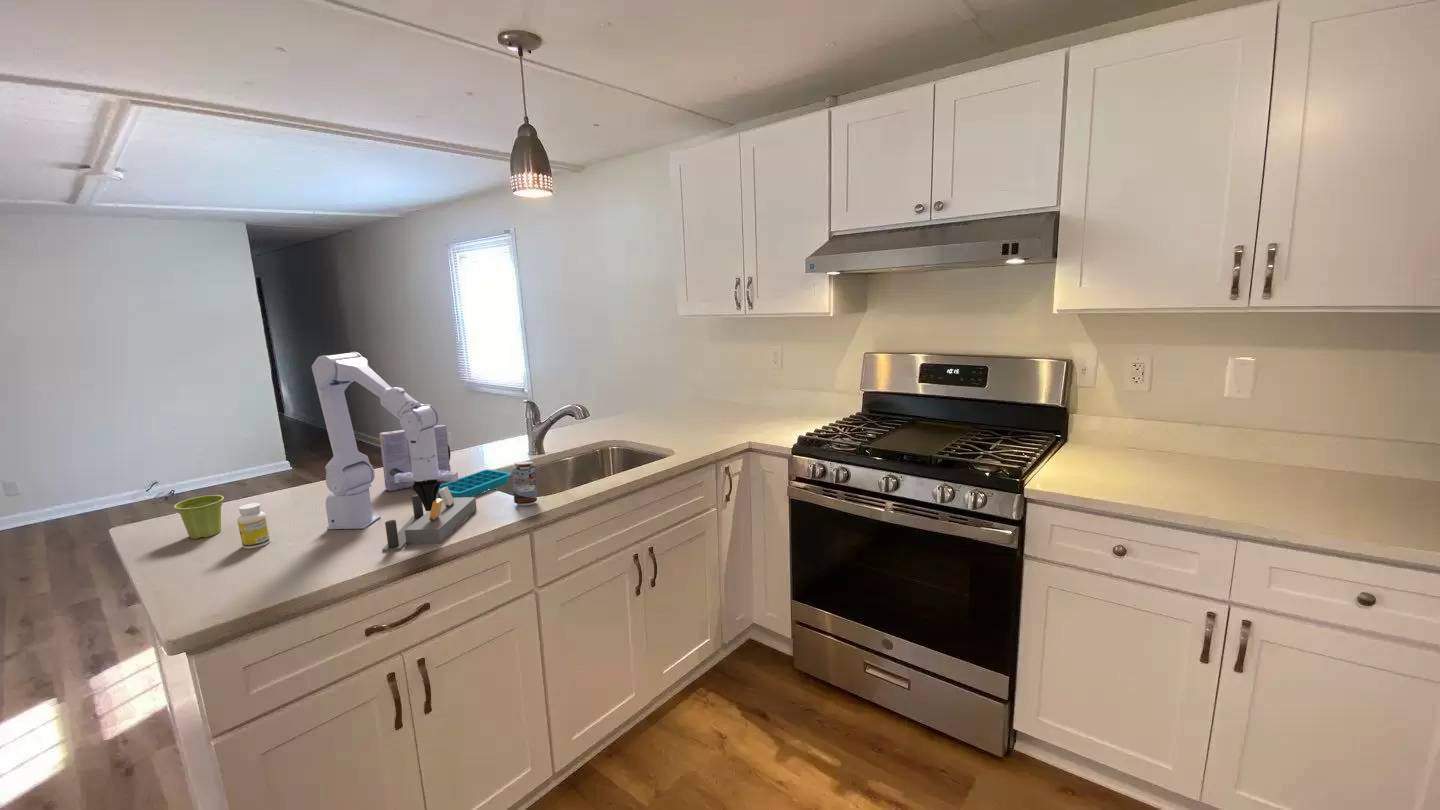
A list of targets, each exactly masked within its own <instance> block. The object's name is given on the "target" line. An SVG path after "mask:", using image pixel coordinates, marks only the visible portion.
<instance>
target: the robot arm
mask: <svg viewBox="0 0 1440 810" xmlns="http://www.w3.org/2000/svg"><path fill="white" fill-rule="evenodd" d="M311 370H312V375H313V378H314V382H315V386H316V391H317V394H318V398H319V402H320V407H321V410H322V414H323V418H324V423H325V425H326V426H325V427H326V431H327V435H328V440H329V443H330V447H331V450H332V457H331V459H330V460H329V461H328V463H327V464H326V465H325V473H326V474H325V475H326V476H325V484H326V486H327V489H328V490H329V491H330V492H329V493H328V495H327V497H326V499H325V510H326V511H325V512H326V517H327V524H328V526H327V527H326V529H327V530H351V529H352V530H353V529H354V530H355V529H358V530H359V529H365V528H367V527H368V526H370V525H371V524H372V523H374V522H376V521H377V520H378V519H381V515H379V514H377V515H374V514H373V508H372V499H371V493H370V488H371V487H372V483H373V482H374V480H375V474H376V473H375V468H374V467H373V466H372V464H371V462H370V459H369V456H368V455H367V454H364V453H362V452H360V451H359V449H358V445H357V440H356V437H355V431H354V429H353V424H352V420H351V419H352V418H351V415H350V412H349V407H348V403H347V400H346V395H345V390H347V388H348V387H349V385H350V384H352V383H353V382H356V383H358V384H359V385H361V386H362V387H363V388H365V389H367V390H368V391H369V392H371V393H372V394H374V395H376V397H378V398H380V400H379V403H380V405H381V406H382V407H383V408H385V410H387V412H390V414H391V415H393V416H394V417H396V418H397V419H398V420H399V424H400V426H401V430H404V431H405V434H406V438H407V440H409V448H410V456H411V464H412V472H407V473H398V474H396V475H394V479H395V483H400V482H414V485H413V486H412V487H411V489H412V490H413V491H414V492H415V494H417V495H418V496H419V497H420V499H421V501H422V506H423V509H424V510H425V512H428V511H431V508H432V504H433V501H435V500H436V499H437V495H438V490H439V487H440V485H442V484H443V483H442V482H455V481H457V480H458V479H459V475H458V474H459V473H458V471H451V472H449V471H440V470H439V468H438V460H437V451H436V442H435V433H434V427H435V426H437V425H438V423H439V414H438V412H437V410H436V409H435V408H434V407H433V406H432V404H423V403H420V401H418V400H416V399H415V398H413V397H412V396H411V395H409V393H407V392H406V390H405V389H404V388H403V387H398V386H395V387H394V386H393V387H392V386H391V385H390V384H388V383H387V382H386V381H385V380H384V379H383V378H382V377H381V376H380V375H379V374H377V373H376V372H375V371H374V370H373V369H372V368H371V367H370V366H369V361H368V359H367V358H365V357H363V354H360V353H359V352H357V351H350V352H347V353H338V354H330V355H319V356H318V357H317V358H316V359H315V360H314V362H313V364H311Z"/></svg>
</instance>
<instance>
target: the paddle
mask: <svg viewBox="0 0 1440 810" xmlns="http://www.w3.org/2000/svg"><path fill="white" fill-rule="evenodd" d="M439 494H440V496H441V497H440V499H443V502H444V504H445V507H446V508H449V507H450V506H451V505H452V504H453V503H454V499H453V497H452V495H451V493H450V491H449V488H448V486H447V487H444V488H442V489H441V490H439ZM439 494H438V495H439Z"/></svg>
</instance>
